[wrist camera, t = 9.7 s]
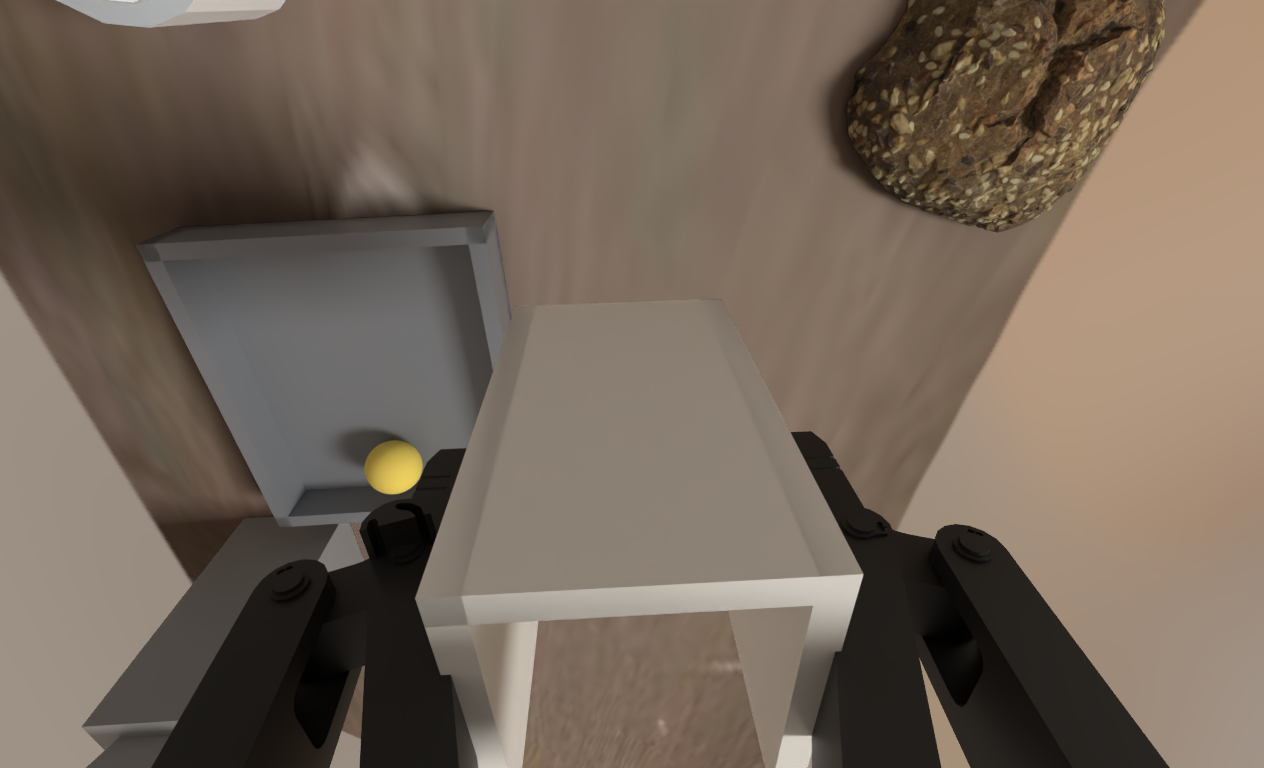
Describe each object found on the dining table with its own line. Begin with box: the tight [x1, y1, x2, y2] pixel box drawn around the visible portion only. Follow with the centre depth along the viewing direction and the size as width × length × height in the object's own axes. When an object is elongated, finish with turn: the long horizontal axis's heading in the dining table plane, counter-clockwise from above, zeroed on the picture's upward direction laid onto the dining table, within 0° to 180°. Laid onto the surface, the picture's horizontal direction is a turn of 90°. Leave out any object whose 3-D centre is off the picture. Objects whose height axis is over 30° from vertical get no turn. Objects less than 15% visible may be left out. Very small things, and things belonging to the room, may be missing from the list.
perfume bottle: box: [82, 516, 364, 768], centre depth 31 cm, size 7×7×18 cm
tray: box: [136, 211, 511, 527], centre depth 31 cm, size 18×16×3 cm
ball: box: [364, 440, 423, 494], centre depth 33 cm, size 3×3×3 cm
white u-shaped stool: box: [415, 299, 863, 768], centre depth 13 cm, size 6×6×10 cm
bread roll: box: [847, 0, 1166, 232], centre depth 24 cm, size 13×12×5 cm
